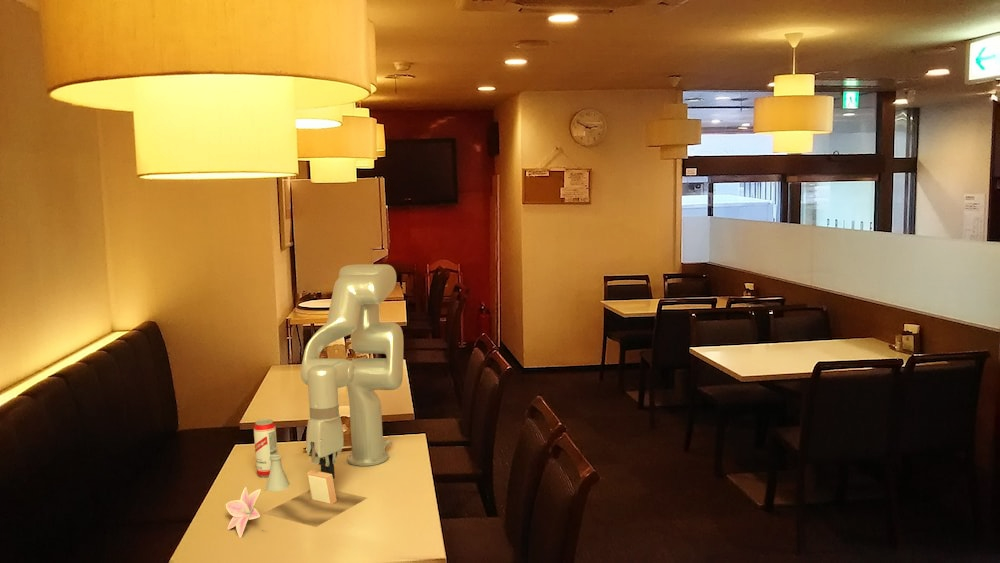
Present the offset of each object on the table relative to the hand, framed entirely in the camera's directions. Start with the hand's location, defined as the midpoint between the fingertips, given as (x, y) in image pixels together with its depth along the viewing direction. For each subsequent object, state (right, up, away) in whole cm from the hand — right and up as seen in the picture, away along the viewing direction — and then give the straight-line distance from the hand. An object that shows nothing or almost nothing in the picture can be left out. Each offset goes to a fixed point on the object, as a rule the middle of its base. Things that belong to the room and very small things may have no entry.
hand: (328, 478), depth 218 cm
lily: (-18, -9, -13) cm, 24 cm away
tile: (-1, -6, -1) cm, 6 cm away
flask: (-16, -6, +11) cm, 20 cm away
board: (-2, -7, -3) cm, 8 cm away
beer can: (-23, -5, +23) cm, 33 cm away
